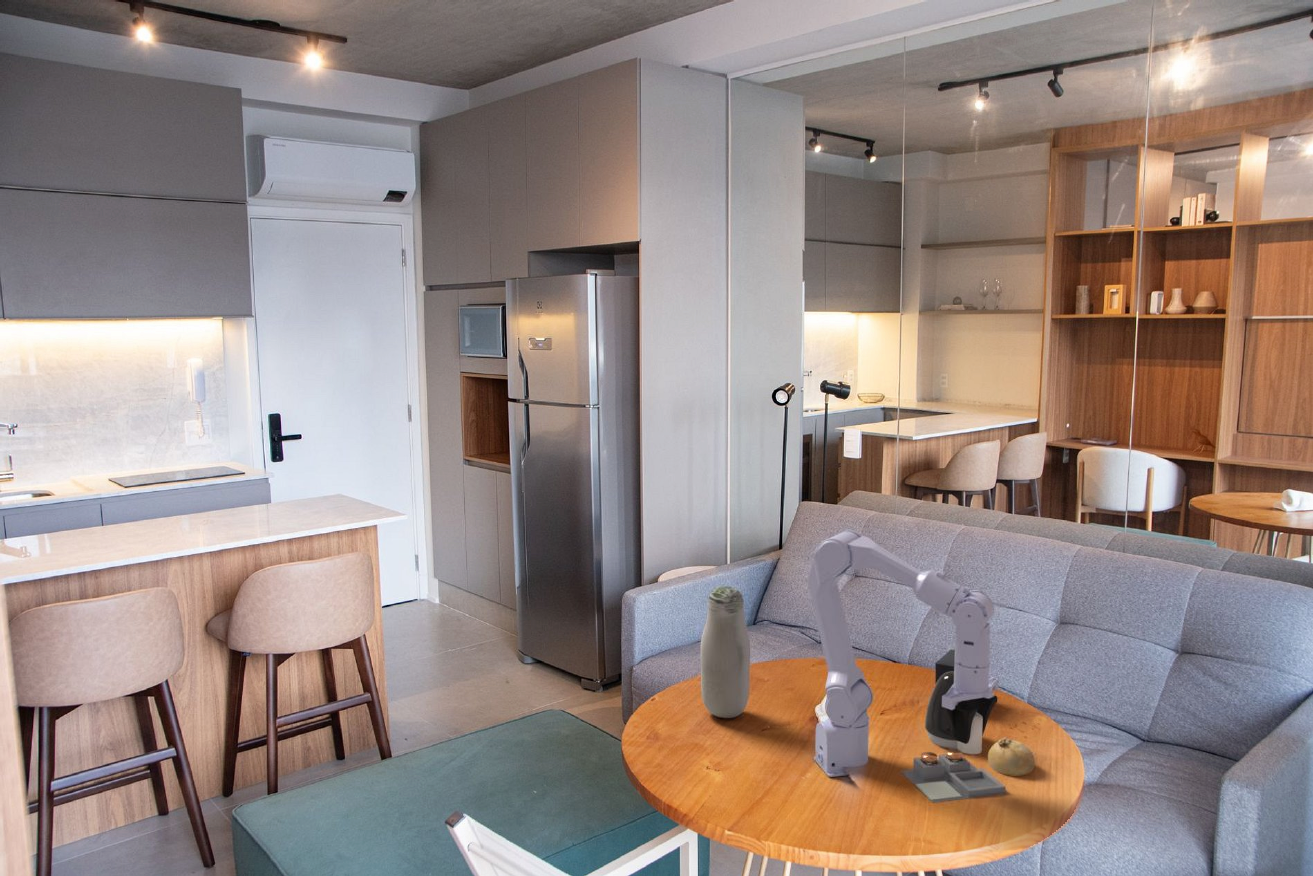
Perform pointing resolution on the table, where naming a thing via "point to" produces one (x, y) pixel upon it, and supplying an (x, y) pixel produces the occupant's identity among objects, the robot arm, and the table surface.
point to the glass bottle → (725, 654)
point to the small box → (944, 664)
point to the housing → (952, 780)
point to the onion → (1011, 758)
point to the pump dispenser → (940, 715)
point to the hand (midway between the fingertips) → (969, 738)
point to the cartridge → (973, 737)
